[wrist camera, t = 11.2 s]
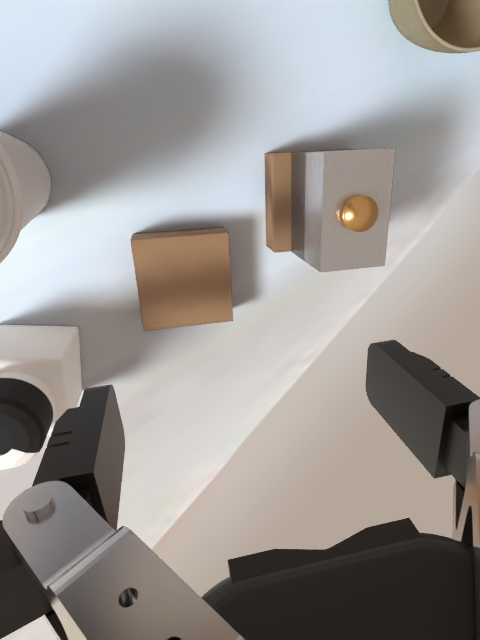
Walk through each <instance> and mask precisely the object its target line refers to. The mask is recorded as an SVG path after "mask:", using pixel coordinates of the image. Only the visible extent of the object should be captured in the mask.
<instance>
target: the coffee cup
mask: <svg viewBox="0 0 480 640" xmlns="http://www.w3.org/2000/svg"><path fill="white" fill-rule="evenodd" d="M50 194H51V178H50V174H49V171H48V168H47V166H46V164H45V162H44V161H43V159H42V158H41V156H40V155H39V154H38V153H37V152H36V151H35V150H34V149H33V148H32V147H31V146H29V145H28V144H27V143H25V142H23V141H22V140H20V139H17V138H15V137H13V136H10V135H8V134H5V133H3V132H0V263H1V262H2V261H3V260H4V259H5V258H6V256H7V255H8V254H9V253H10V251H11V250H12V248H13V246H14V245H15V243H16V241H17V238H18V236H19V233H20V230H22V229H23V228H24V227H25V226H26V225H27V224H28V223H29V222H30V221H31V220H32V219H33V218H34V217H35V216H36V215H38V214H39V213H40V212H41V211H42V210H43V208H44V207H45V206H46V204H47V202H48V200H49V198H50Z"/></svg>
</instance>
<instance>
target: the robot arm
mask: <svg viewBox="0 0 480 640" xmlns="http://www.w3.org/2000/svg"><path fill="white" fill-rule="evenodd" d="M366 392H367V396H368V398H369V401H370V403H371V404H372V406H373V407H374V408H375V409H376V410H377V411H378V412H379V414H380V415H381V416H382V417H383V418H384V420H385V421H386V422H387V423H388V424H389V426H390V427H391V428H392V429H393V430H394V432H395V433H397V435H398V436H399V437H400V439H401V440H402V441H403V442H404V443H405V445H406V446H407V447H408V448H409V449H410V450H411V451H412V453H413V454H414V455H415V456H416V457H417V459H418V460H419V461H420V462H421V463H422V464H423V466H424V467H425V468H426V469H427V470H428V472H429V473H430V474H431V475H432V476H433V478H438V477H443V476H448V475H453V477H454V478H455V483H454V489H453V539H451V538H448V537H444V536H439V535H434V534H427V533H419V532H418V530H417V529H416V527H415V526H414V524H413V523H412V521H411V520H410V518H406V519H402V520H398V521H394V522H389V523H385V524H380V525H376V526H372V527H368V528H365V529H364V530H362V531H360V532H358V533H356V534H355V535H353V536H351V537H349V538H347V539H345V540H344V541H342V542H340V543H338V544H336V545H335V546H333V547H331V548H329V549H325V550H304V549H301V550H300V549H273V550H268V551H264V552H260V553H256V554H251V555H247V556H243V557H238V558H234V559H230V560H228V565H229V573H230V577H228V578H226V579H225V580H223V581H221V582H220V583H218V584H217V585H215V586H214V587H213V588H211V589H210V590H209V591H208V592H207V593H206V594H204V595H203V597H200V596H199V595H197V593H196V592H195V591H194V590H193V589H192V588H191V587H190V586H188V585H187V584H186V583H185V582H184V581H183V580H182V579H181V578H180V577H179V576H178V575H177V574H176V573H175V572H174V571H173V570H172V569H171V568H170V567H169V566H168V565H167V564H166V563H164V561H162V560H161V559H160V558H159V557H158V556H157V555H156V554H155V553H154V552H153V551H152V550H151V549H150V548H149V547H148V546H147V545H146V544H145V543H144V542H143V541H142V540H141V539H140V538H139V537H138V536H137V535H135V534H134V533H133V532H132V531H131V530H130V529H129V528H127V527H125V526H122V527H120V528H119V529H118V530H117V521H118V511H119V501H120V491H121V482H122V472H123V462H124V452H125V437H124V430H123V425H122V421H121V416H120V412H119V408H118V403H117V399H116V395H115V391H114V388H113V386H112V385H105V386H99V387H93V388H87V389H85V390H84V393H83V397H82V400H81V403H80V407H76V408H70V409H67V410H66V411H65V412H64V413H63V414H62V416H61V417H60V418H59V419H58V420H57V421H56V422H55V425H54V428H53V431H52V433H51V437H50V439H49V442H48V444H47V448H46V450H45V452H44V455H43V458H42V461H41V463H40V466H39V469H38V472H37V474H36V477H35V480H34V482H33V485H32V487H31V488H29V489H27V490H25V491H24V492H23V493H21V494H20V495H19V496H17V497H16V498H15V499H14V500H13V501H12V502H11V503H10V505H9V506H8V507H7V509H6V511H5V513H4V515H3V520H1V521H0V639H1V638H3V637H5V636H7V635H8V634H10V633H12V632H14V631H16V630H18V629H19V628H21V627H23V626H25V625H27V624H28V623H30V622H32V621H34V620H36V619H38V618H39V617H41V616H43V617H44V619H45V621H46V622H47V624H48V625H49V627H50V628H51V630H52V632H53V633H54V635H55V636H56V638H57V640H480V397H478V396H477V395H476V394H474V393H473V392H472V391H470V390H469V389H468V388H466V387H465V386H464V385H463V384H461V383H460V382H458V381H457V380H456V379H455V378H454V377H450V375H449V374H448V373H447V372H446V371H444V370H443V369H442V370H441V368H440V367H439V366H438V365H436V364H435V363H434V362H433V361H431V360H430V359H428V358H426V357H424V356H421V355H418V354H416V353H414V352H410V351H409V350H407V349H406V348H405V347H404V346H402V345H401V344H400V343H399V342H397V341H396V340H390V341H384V342H377V343H372V344H370V346H369V348H368V358H367V373H366ZM116 530H117V531H116Z"/></svg>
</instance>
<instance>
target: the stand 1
mask: <svg viewBox="0 0 480 640" xmlns="http://www.w3.org/2000/svg"><path fill="white" fill-rule="evenodd" d="M131 247H132V253H133V260H134V267H135V274H136V281H137V287H138V294H139V301H140V308H141V314H142V321H143V328H144V331H148V330H156V329H165V328H174V327H183V326H192V325H201V324H210V323H219V322H228V321H233V310H232V292H231V273H230V254H229V236H228V232H227V231H226V230H225V229H224V228H223V227H220V228H206V229H193V230H180V231H166V232H153V233H140V234H133V235H132V238H131Z"/></svg>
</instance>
